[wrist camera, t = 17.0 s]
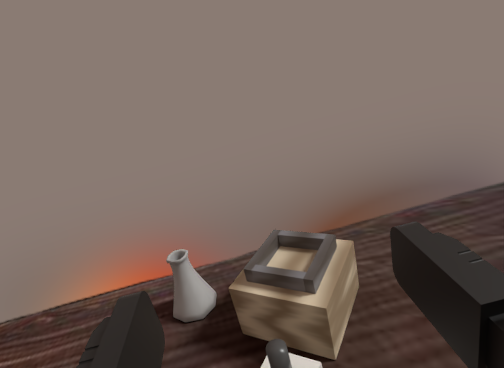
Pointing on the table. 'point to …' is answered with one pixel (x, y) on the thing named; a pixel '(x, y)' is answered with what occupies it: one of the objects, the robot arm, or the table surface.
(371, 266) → the table surface
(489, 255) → the table surface
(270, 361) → the plug
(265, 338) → the upper dock
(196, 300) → the flask
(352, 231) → the table surface
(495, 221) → the table surface
